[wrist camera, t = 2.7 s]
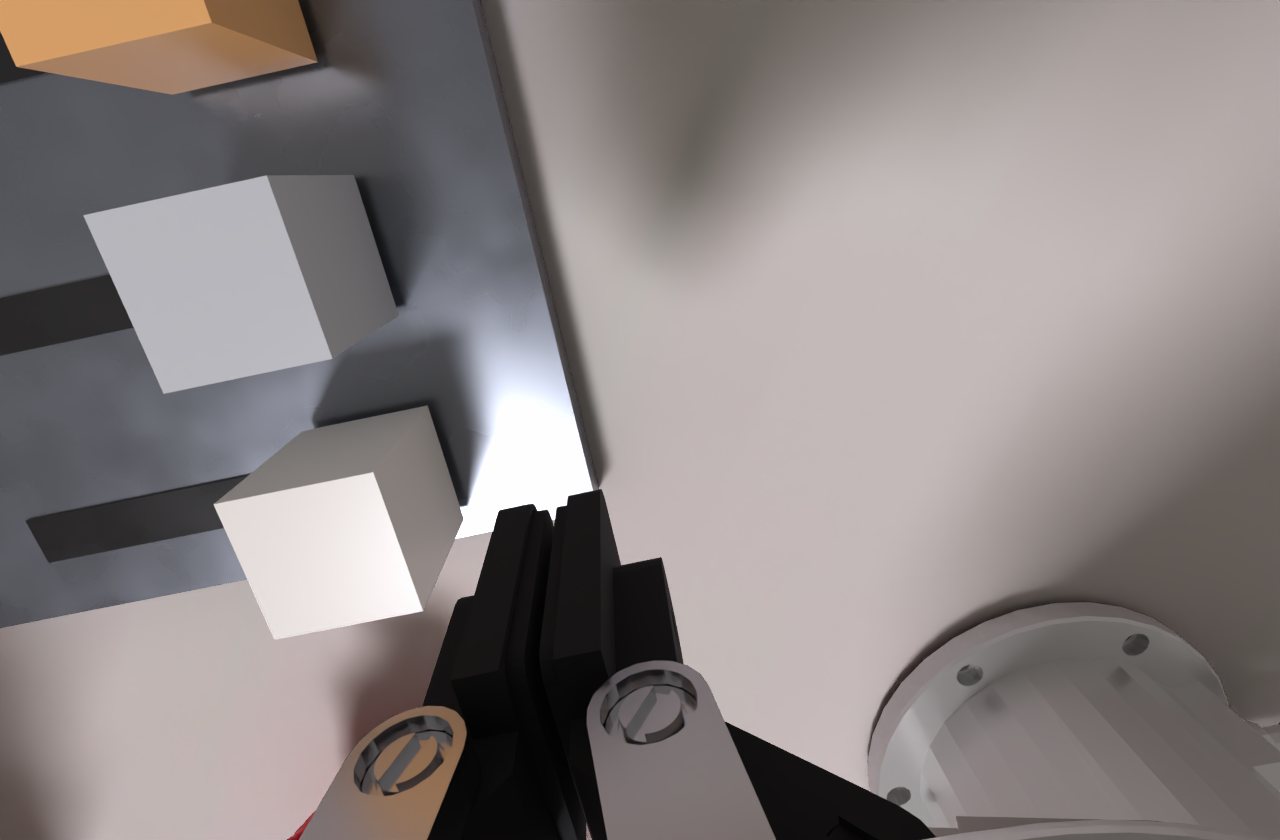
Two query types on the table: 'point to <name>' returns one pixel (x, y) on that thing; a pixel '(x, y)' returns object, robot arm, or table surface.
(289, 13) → the orange slider
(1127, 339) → the table surface
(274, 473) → the ivory slider
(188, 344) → the grey slider
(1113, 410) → the table surface
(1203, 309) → the table surface
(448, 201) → the panel
